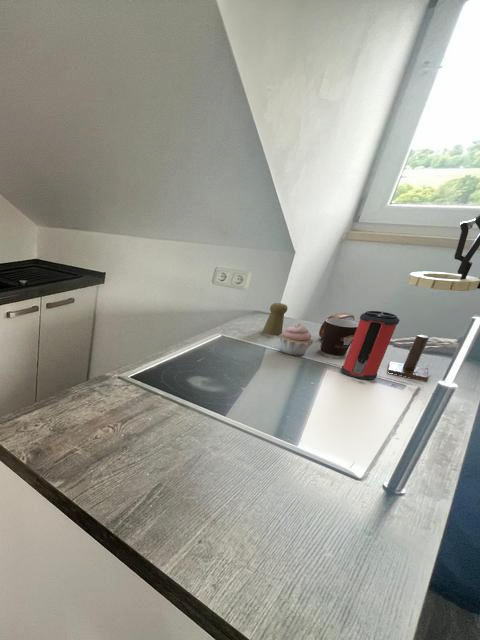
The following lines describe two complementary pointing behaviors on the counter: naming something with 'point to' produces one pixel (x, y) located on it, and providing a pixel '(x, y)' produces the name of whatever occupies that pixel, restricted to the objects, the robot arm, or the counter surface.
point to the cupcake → (295, 340)
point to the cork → (275, 319)
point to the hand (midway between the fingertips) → (468, 286)
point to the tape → (443, 281)
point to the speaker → (369, 344)
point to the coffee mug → (337, 336)
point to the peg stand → (412, 362)
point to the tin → (337, 316)
